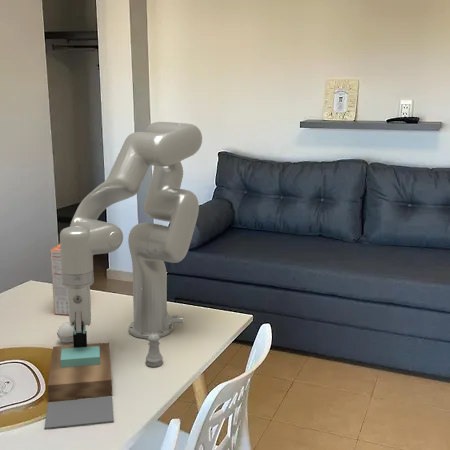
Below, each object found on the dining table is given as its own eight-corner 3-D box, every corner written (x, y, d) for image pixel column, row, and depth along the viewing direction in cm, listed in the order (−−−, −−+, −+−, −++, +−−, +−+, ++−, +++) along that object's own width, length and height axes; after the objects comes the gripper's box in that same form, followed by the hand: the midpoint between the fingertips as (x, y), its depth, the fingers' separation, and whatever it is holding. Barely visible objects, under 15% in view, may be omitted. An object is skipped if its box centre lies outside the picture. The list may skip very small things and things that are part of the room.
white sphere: (59, 338, 164) (58, 319, 162) (80, 337, 164) (79, 318, 163) (54, 350, 156) (53, 330, 155) (76, 349, 157) (75, 330, 156)
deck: (109, 356, 153) (109, 342, 152) (112, 395, 134) (111, 379, 133) (53, 361, 150) (53, 346, 149) (48, 401, 131) (47, 385, 130)
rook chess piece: (155, 369, 147) (155, 339, 145) (141, 364, 149) (141, 335, 147) (166, 362, 151) (166, 333, 149) (152, 358, 153) (152, 329, 151)
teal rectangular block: (99, 353, 146) (99, 346, 146) (99, 364, 140) (99, 356, 140) (62, 356, 144) (61, 348, 144) (60, 367, 138) (60, 359, 138)
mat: (112, 398, 133) (112, 396, 133) (113, 422, 124) (113, 420, 124) (48, 404, 130) (47, 402, 130) (44, 429, 121) (44, 427, 121)
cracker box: (70, 298, 193) (67, 237, 188) (88, 299, 192) (85, 238, 187) (52, 314, 180) (49, 249, 175) (71, 316, 179) (68, 250, 174)
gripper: (93, 286, 136) (95, 359, 141) (93, 267, 151) (95, 334, 155) (59, 288, 135) (63, 361, 139) (63, 268, 149) (66, 336, 153)
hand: (80, 347), depth 147 cm, fingers closed
